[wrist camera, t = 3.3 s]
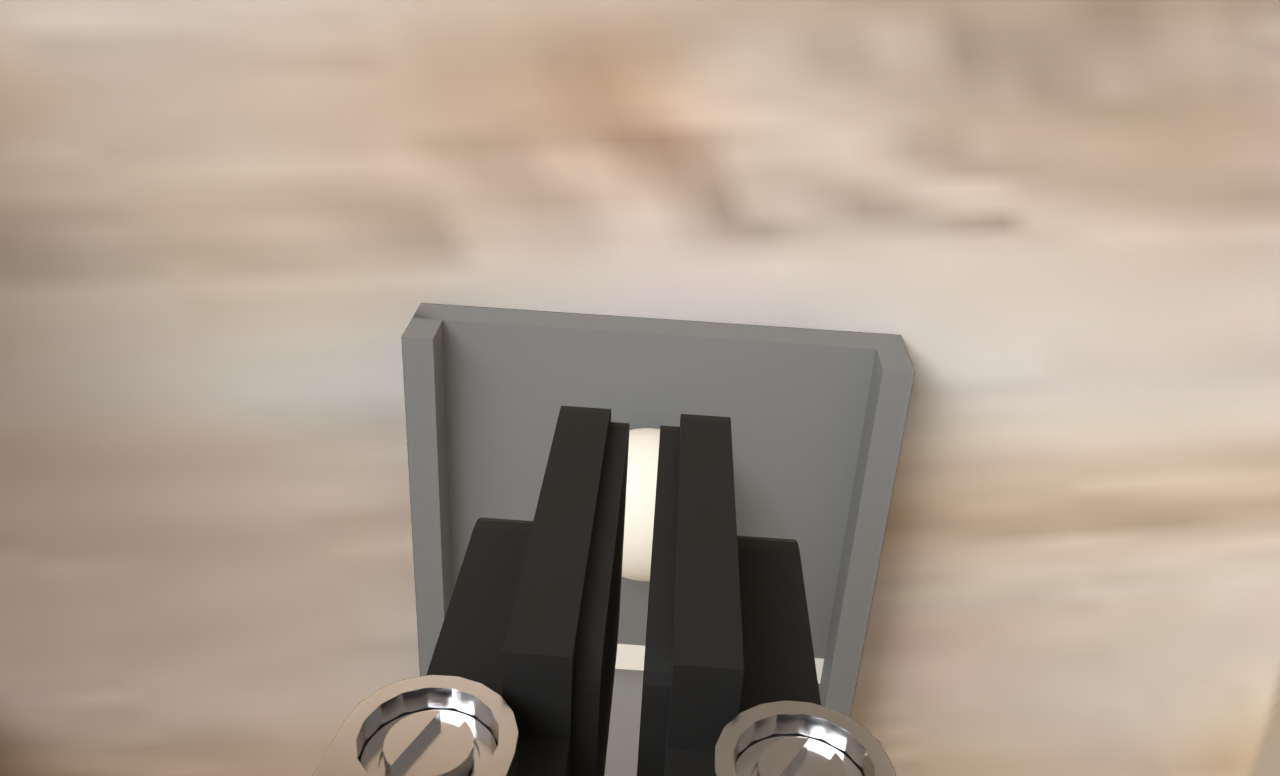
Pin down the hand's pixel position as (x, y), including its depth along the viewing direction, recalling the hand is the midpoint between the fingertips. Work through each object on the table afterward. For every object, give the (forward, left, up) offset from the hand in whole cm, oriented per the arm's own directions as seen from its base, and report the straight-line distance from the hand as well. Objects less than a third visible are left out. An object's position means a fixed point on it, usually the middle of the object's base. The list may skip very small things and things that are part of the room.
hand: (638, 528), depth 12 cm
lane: (+15, 0, -17) cm, 23 cm away
